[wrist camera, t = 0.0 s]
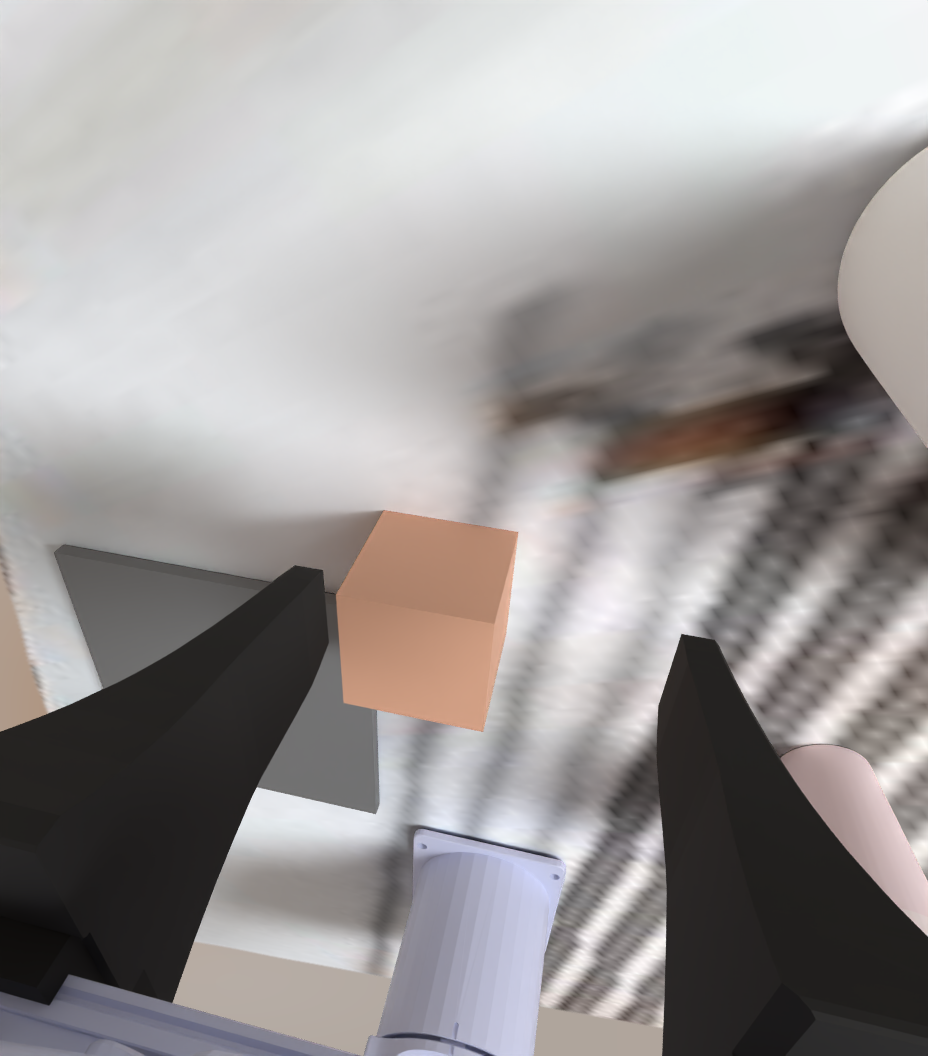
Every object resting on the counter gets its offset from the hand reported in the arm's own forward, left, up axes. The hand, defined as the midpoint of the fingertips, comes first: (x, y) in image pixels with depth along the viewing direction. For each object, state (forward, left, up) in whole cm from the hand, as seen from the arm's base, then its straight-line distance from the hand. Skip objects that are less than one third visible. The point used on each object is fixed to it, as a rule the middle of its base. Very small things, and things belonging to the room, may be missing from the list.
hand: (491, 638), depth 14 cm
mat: (-16, +13, -10) cm, 23 cm away
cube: (-7, +3, -10) cm, 13 cm away
